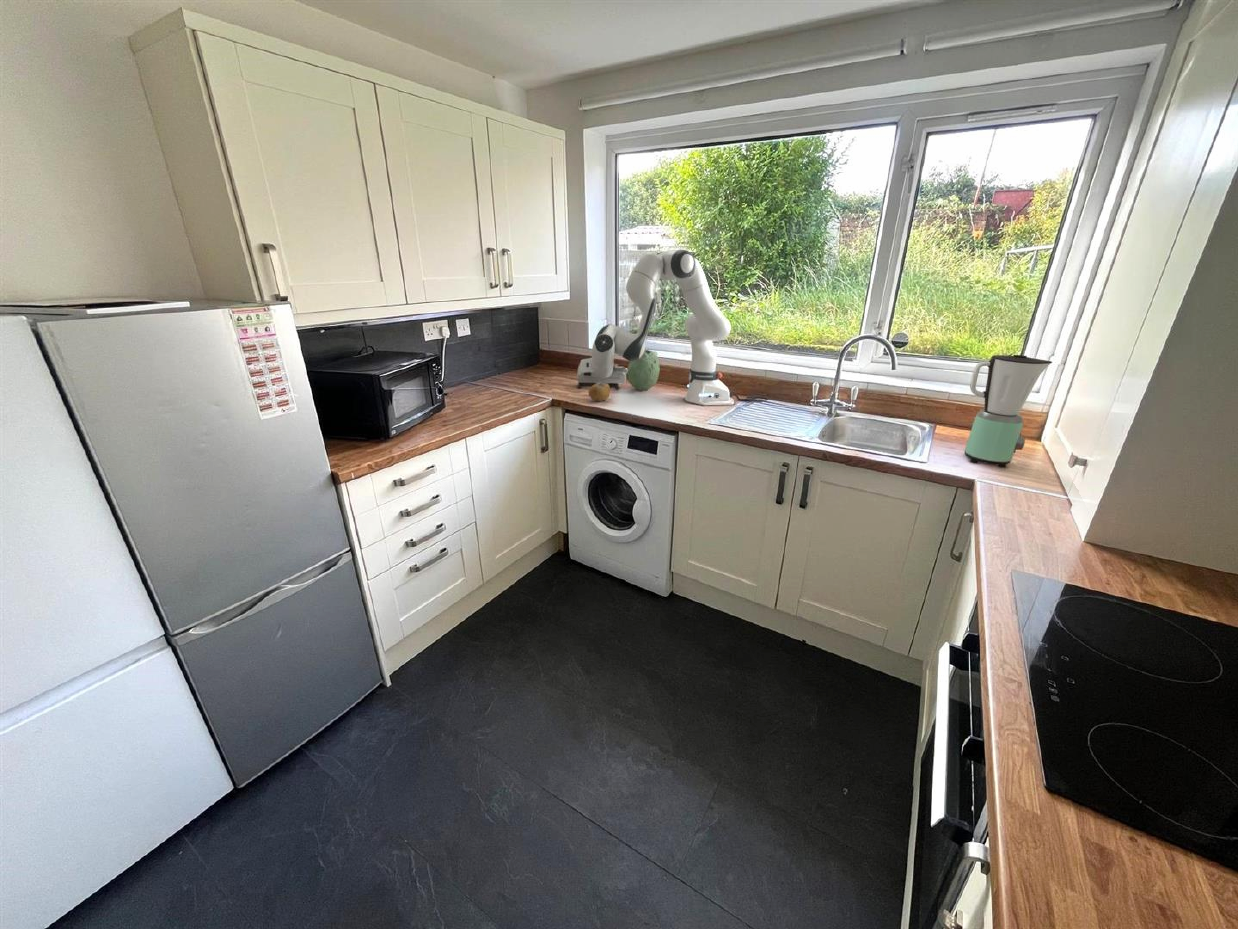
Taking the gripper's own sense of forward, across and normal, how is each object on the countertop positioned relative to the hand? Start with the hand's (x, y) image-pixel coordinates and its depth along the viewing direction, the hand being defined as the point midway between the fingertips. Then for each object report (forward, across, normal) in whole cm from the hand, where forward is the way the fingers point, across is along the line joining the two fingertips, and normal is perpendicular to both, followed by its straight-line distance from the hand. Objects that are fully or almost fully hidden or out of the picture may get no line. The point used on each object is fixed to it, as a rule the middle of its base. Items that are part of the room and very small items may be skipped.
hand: (600, 385), depth 211 cm
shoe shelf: (+35, 0, -22) cm, 41 cm away
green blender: (-36, -127, +50) cm, 141 cm away
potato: (+16, 0, -2) cm, 16 cm away
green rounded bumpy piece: (+32, -22, -18) cm, 43 cm away
